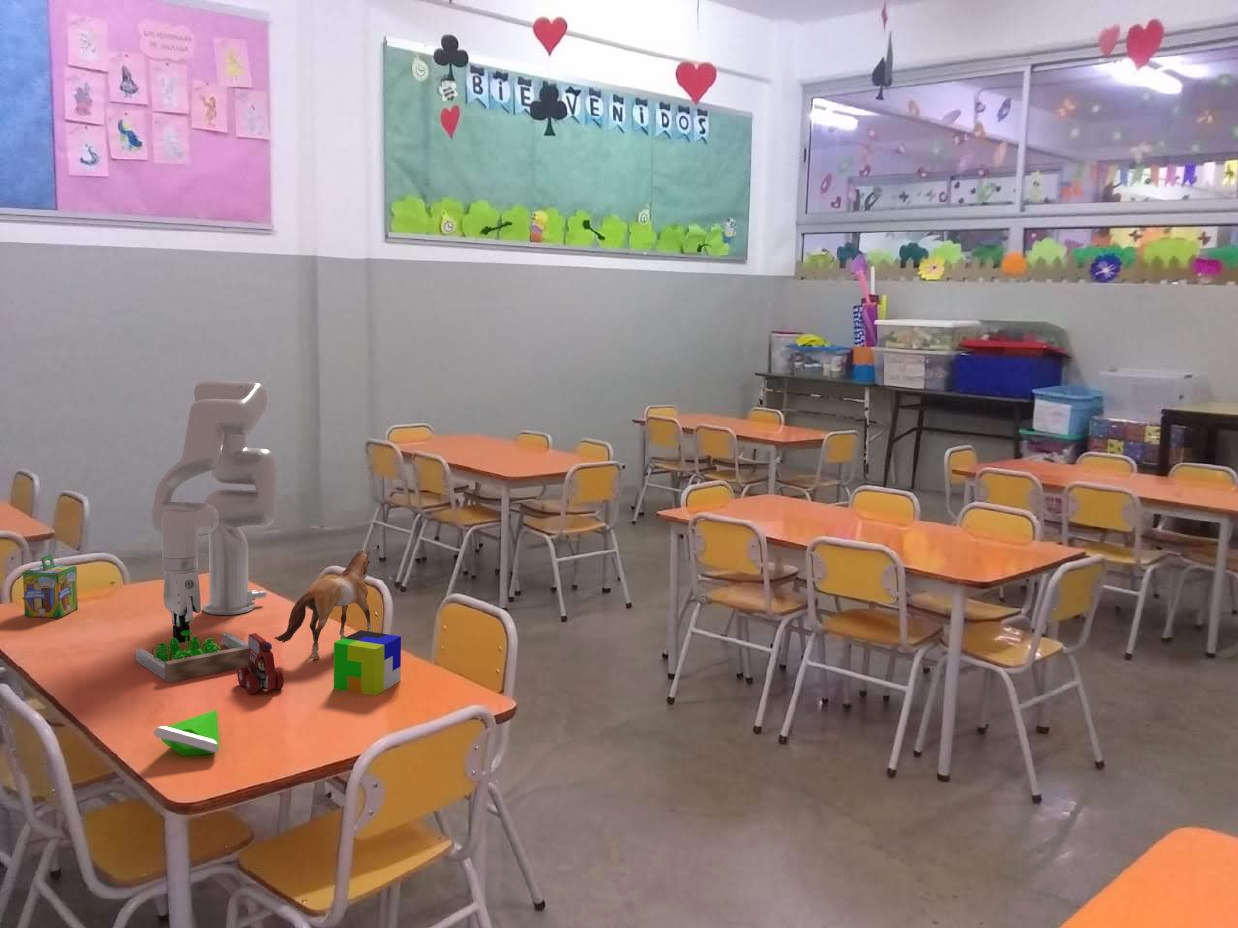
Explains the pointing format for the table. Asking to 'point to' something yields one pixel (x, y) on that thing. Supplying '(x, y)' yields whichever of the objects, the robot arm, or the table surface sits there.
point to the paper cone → (192, 735)
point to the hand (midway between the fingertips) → (181, 641)
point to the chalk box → (50, 590)
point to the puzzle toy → (367, 662)
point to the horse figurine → (331, 600)
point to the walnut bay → (198, 661)
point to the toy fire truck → (259, 667)
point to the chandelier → (193, 648)
